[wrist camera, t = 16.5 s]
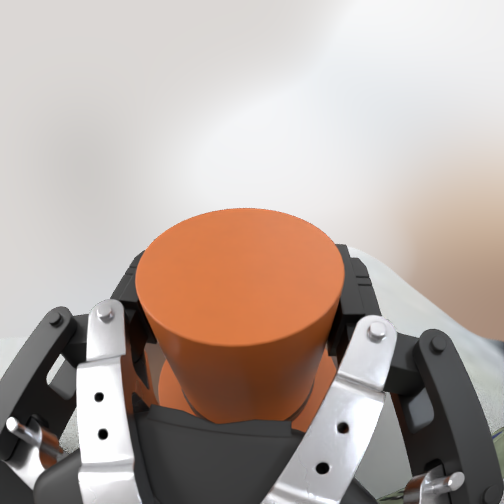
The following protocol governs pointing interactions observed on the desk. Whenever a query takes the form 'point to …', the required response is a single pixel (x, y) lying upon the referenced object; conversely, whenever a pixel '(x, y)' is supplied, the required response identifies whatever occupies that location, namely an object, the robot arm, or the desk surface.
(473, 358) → the desk surface
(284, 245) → the hat
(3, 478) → the dark grey cube pedestal
